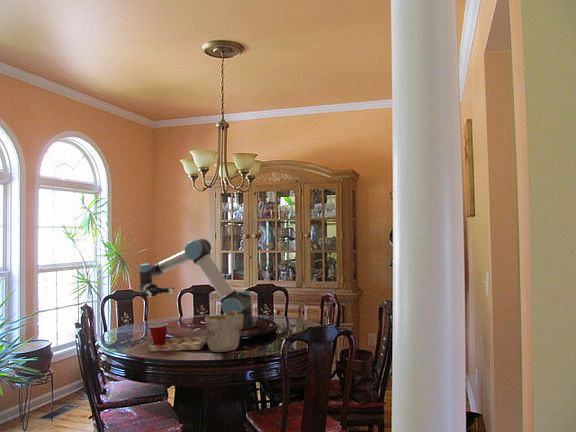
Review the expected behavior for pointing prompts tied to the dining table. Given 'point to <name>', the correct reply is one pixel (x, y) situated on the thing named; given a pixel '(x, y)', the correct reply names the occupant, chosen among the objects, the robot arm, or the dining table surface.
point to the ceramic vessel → (224, 331)
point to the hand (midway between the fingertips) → (162, 293)
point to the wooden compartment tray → (179, 344)
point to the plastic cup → (158, 333)
